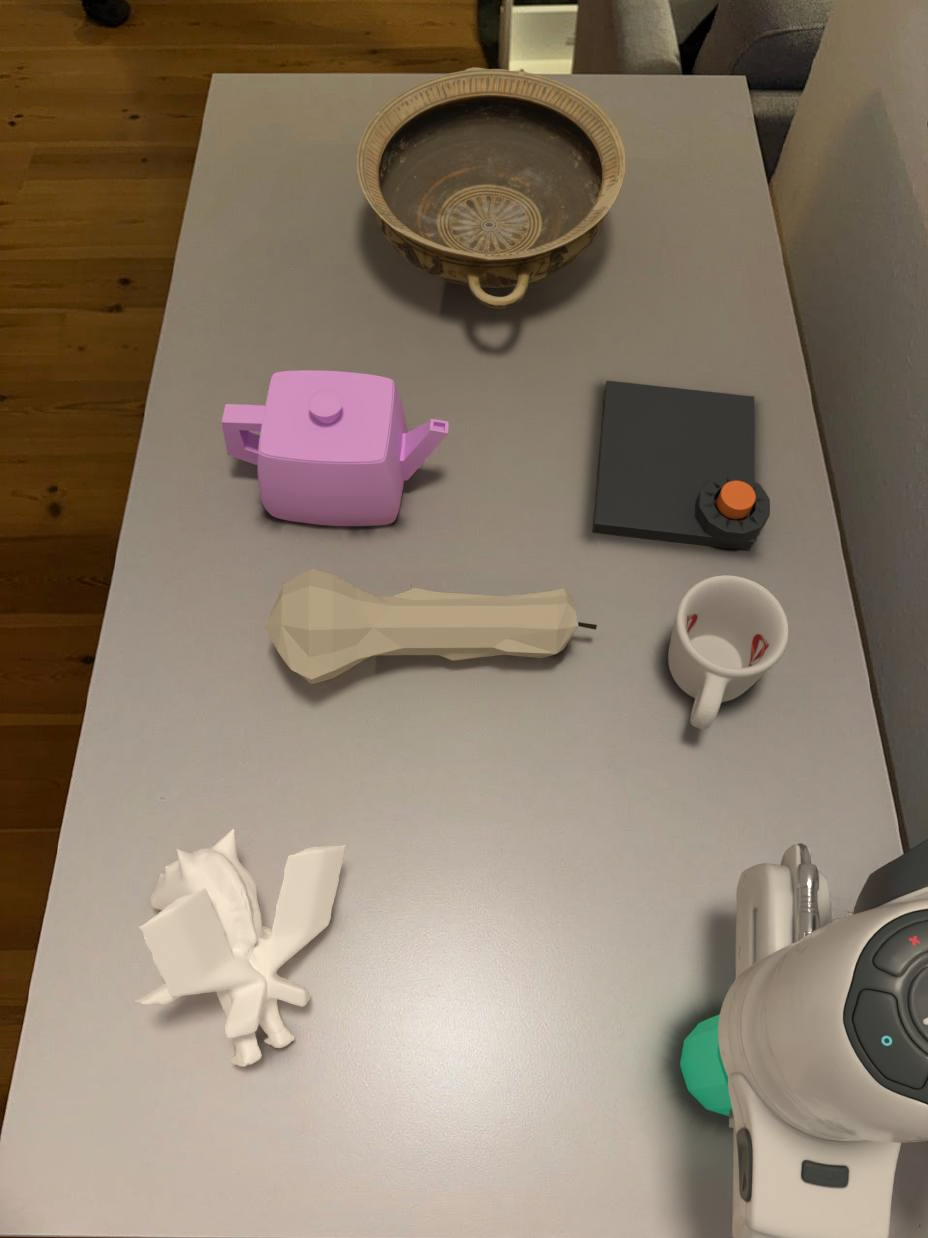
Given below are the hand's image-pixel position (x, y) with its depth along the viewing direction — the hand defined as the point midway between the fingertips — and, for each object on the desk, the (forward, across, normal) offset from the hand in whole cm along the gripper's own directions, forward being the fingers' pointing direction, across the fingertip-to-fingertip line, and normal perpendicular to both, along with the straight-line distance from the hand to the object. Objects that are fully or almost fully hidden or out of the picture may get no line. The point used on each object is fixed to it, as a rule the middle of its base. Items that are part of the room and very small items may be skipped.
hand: (742, 1058), depth 63 cm
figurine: (+5, -3, -33) cm, 33 cm away
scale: (+5, -47, -5) cm, 47 cm away
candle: (+5, 0, 0) cm, 5 cm away
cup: (+5, -27, -2) cm, 27 cm away
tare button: (+2, -42, -1) cm, 42 cm away
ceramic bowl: (+5, -71, -24) cm, 75 cm away
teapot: (+5, -42, -33) cm, 53 cm away
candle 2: (+5, -27, -23) cm, 36 cm away
